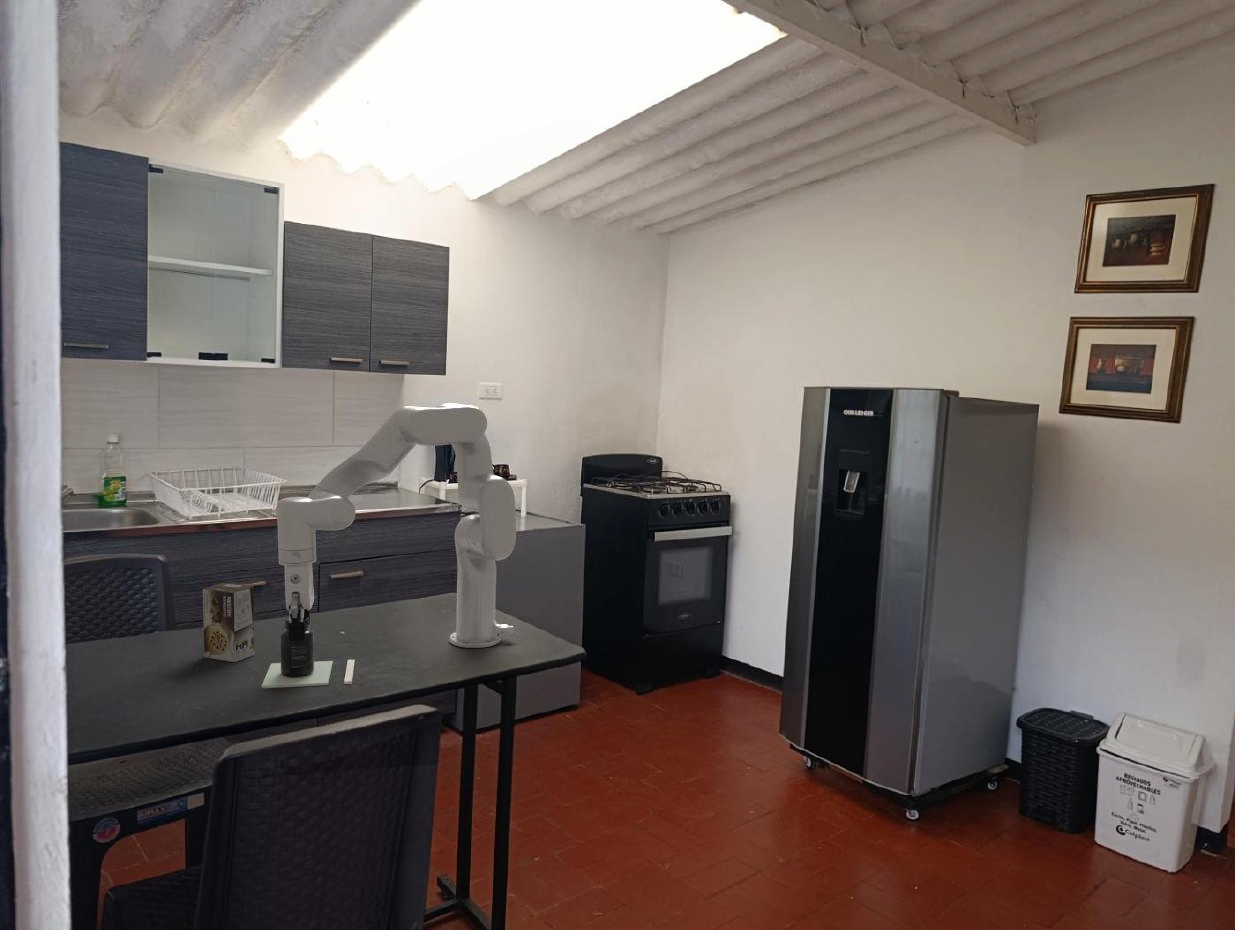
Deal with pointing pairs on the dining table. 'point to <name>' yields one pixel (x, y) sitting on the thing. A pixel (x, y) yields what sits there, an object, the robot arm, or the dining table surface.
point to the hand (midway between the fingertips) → (299, 633)
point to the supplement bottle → (297, 653)
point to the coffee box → (228, 622)
